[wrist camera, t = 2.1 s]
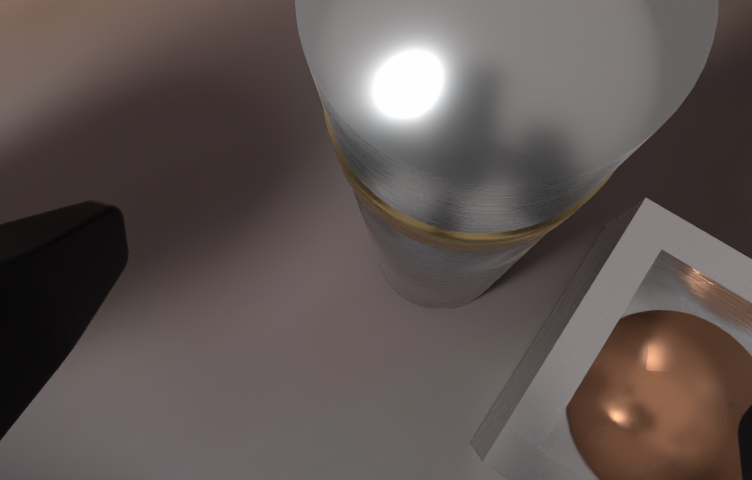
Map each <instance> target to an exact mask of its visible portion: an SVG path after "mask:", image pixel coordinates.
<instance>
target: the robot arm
mask: <svg viewBox="0 0 752 480" xmlns="http://www.w3.org/2000/svg"><path fill="white" fill-rule="evenodd" d="M127 260H128V245H127V238H126V231H125V224H124V218H123V213H122V212H121V210H120V209H119V208H118V207H116V206H114V205H110V204H106V203H102V202H98V201H85V202H82V203H78V204H74V205H70V206H67V207H63V208H59V209H55V210H52V211H48V212H44V213H40V214H37V215H33V216H29V217H25V218H22V219H18V220H14V221H10V222H7V223H3V224H0V440H1V439H2V438H3V437H4V435H5V434H6V433H7V432H8V430H9V429H10V428H11V427H12V425H13V424H14V423H15V422H16V420H17V419H18V418H19V417H20V415H21V414H22V413H23V412H24V410H25V409H26V408H27V407H28V405H29V404H30V403H31V402H32V400H33V399H34V398H35V397H36V395H37V394H38V393H39V392H40V390H41V389H42V388H43V387H44V385H45V384H46V383H47V382H48V380H49V379H50V378H51V377H52V375H53V374H54V373H55V372H56V370H57V369H58V368H59V367H60V365H61V364H62V363H63V361H64V360H65V359H66V357H67V356H68V355H69V353H70V352H71V351H72V349H73V348H74V346H75V345H76V343H77V342H78V341H79V339H80V338H81V336H82V334H83V333H84V331H85V330H86V328H87V327H88V325H89V324H90V322H91V320H92V319H93V317H94V316H95V314H96V313H97V311H98V309H99V308H100V306H101V305H102V303H103V302H104V300H105V298H106V297H107V295H108V294H109V292H110V291H111V289H112V288H113V286H114V284H115V283H116V281H117V280H118V278H119V277H120V275H121V273H122V272H123V270H124V268H125V266H126V264H127ZM737 434H738V446H739V455H740V465H741V474H742V480H752V404H751V405H750V407H749V408H748V409H747V410H746V412H745V413H744V414H743V416H742V417H741V419H740V422H739V425H738V432H737Z"/></svg>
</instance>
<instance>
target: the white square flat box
mask: <svg viewBox="0 0 752 480" xmlns="http://www.w3.org/2000/svg"><path fill="white" fill-rule="evenodd" d="M751 404H752V259H750V258H749V257H747V256H745V255H743V254H742V253H740V252H738V251H737V250H735V249H733V248H731V247H730V246H728V245H726V244H725V243H723V242H721V241H719V240H718V239H716V238H714V237H713V236H711V235H709V234H707V233H706V232H704V231H702V230H701V229H699V228H697V227H695V226H694V225H692V224H690V223H689V222H687V221H685V220H683V219H682V218H680V217H678V216H677V215H675V214H673V213H671V212H670V211H668V210H666V209H665V208H663V207H661V206H660V205H658V204H656V203H654V202H653V201H651V200H649V199H648V198H644V199H643V200H641V201H640V202H639V203H637V204H636V205H634V206H633V207H631V208H630V209H628V210H627V211H626V212H624V213H623V214H621V215H620V216H618V217H617V218H615V219H614V220H613V221H611V222H610V223H608V224H607V225H606V226H605V228H604V229H603V231H602V233H601V234H600V236H599V237H598V239H597V241H596V242H595V244H594V245H593V247H592V249H591V250H590V252H589V253H588V255H587V257H586V258H585V260H584V261H583V263H582V265H581V266H580V268H579V269H578V271H577V273H576V274H575V276H574V277H573V279H572V281H571V282H570V284H569V285H568V287H567V289H566V290H565V292H564V293H563V295H562V297H561V298H560V300H559V301H558V303H557V305H556V306H555V308H554V309H553V311H552V313H551V314H550V316H549V317H548V319H547V321H546V322H545V324H544V325H543V327H542V329H541V330H540V332H539V334H538V335H537V337H536V338H535V340H534V342H533V343H532V345H531V346H530V348H529V350H528V351H527V353H526V354H525V356H524V358H523V359H522V361H521V362H520V364H519V366H518V367H517V369H516V370H515V372H514V374H513V375H512V377H511V378H510V380H509V382H508V383H507V385H506V386H505V388H504V390H503V391H502V393H501V394H500V396H499V398H498V399H497V401H496V402H495V404H494V406H493V407H492V409H491V410H490V412H489V414H488V415H487V417H486V418H485V420H484V422H483V423H482V425H481V426H480V428H479V430H478V431H477V433H476V434H475V436H474V438H473V439H472V441H471V442H470V444H471V445H472V447H473V448H474V450H475V451H476V453H477V454H478V456H479V457H480V459H481V460H482V462H484V463H485V464H487V465H488V466H489V467H491V468H492V469H494V470H495V471H496V472H498V473H499V474H501V475H502V476H503V477H505V478H506V479H508V480H742V474H741V465H740V455H739V446H738V434H737V432H738V425H739V422H740V419H741V417H742V416H743V414H744V413H745V412H746V410H747V409H748V408H749V407H750V405H751Z"/></svg>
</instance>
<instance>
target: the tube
mask: <svg viewBox="0 0 752 480" xmlns="http://www.w3.org/2000/svg"><path fill="white" fill-rule="evenodd" d="M718 4H719V0H295V9H296V19H297V28H298V32H299V36H300V40H301V44H302V48H303V51H304V54H305V57H306V60H307V63H308V65H309V68H310V71H311V74H312V77H313V79H314V82H315V85H316V88H317V91H318V93H319V96H320V99H321V102H322V105H323V110H324V117H325V121H326V125H327V129H328V133H329V136H330V138H331V141H332V144H333V146H334V149H335V152H336V154H337V157H338V160H339V162H340V165H341V167H342V169H343V172H344V174H345V177H346V178H347V180H348V182H349V183H350V185H351V187H352V189H353V192H354V194H355V197H356V200H357V203H358V206H359V208H360V211H361V214H362V217H363V220H364V222H365V225H366V228H367V231H368V234H369V237H370V239H371V242H372V245H373V248H374V251H375V253H376V256H377V259H378V262H379V265H380V267H381V270H382V272H383V274H384V276H385V278H386V280H387V281H388V283H389V284H390V285H391V287H392V288H393V289H394V290H395V291H396V292H397V293H398V294H400V295H401V296H402V297H403V298H405V299H406V300H408V301H410V302H412V303H414V304H416V305H419V306H422V307H426V308H431V309H450V308H455V307H459V306H462V305H465V304H467V303H469V302H471V301H473V300H474V299H476V298H477V297H479V296H480V295H481V294H482V293H484V292H485V291H486V290H487V289H488V288H489V287H490V286H491V285H492V284H493V283H494V282H495V281H496V280H497V279H499V278H500V277H501V276H502V275H503V274H504V273H505V272H506V271H507V270H508V269H509V268H510V267H511V266H512V265H514V264H515V263H516V262H517V261H518V260H519V259H520V258H521V257H522V256H523V255H524V254H525V253H526V252H527V251H529V250H530V249H531V248H532V247H533V246H534V245H535V244H536V243H537V242H538V241H539V240H540V239H541V238H542V237H544V236H545V235H546V234H547V233H548V232H549V231H551V230H553V229H555V228H556V227H557V226H559V225H560V224H561V223H563V222H564V221H565V220H566V219H568V218H569V217H570V216H571V215H572V214H574V213H575V212H576V211H577V210H578V209H579V208H580V207H581V206H582V205H584V204H585V203H586V202H587V201H588V200H589V199H590V198H591V197H592V196H593V195H594V194H595V193H596V192H597V191H598V190H599V189H600V188H601V187H602V186H603V185H604V184H605V183H606V182H607V181H608V179H609V178H610V177H611V175H612V174H613V173H614V171H615V170H616V169H617V167H619V166H620V165H621V164H622V163H623V162H624V161H625V160H626V159H627V158H628V157H629V156H630V155H631V154H632V153H634V152H635V151H636V150H637V149H638V148H639V147H640V146H641V145H642V144H643V143H644V142H645V141H646V140H647V139H649V138H650V137H651V136H652V135H653V134H654V133H655V132H656V131H657V130H658V129H659V128H660V127H661V126H662V125H663V124H664V123H665V122H666V121H667V120H668V119H669V118H670V117H671V116H672V115H673V114H674V113H675V112H676V111H677V110H678V108H679V107H680V105H681V104H682V103H683V101H684V100H685V99H686V97H687V96H688V95H689V93H690V92H691V90H692V89H693V87H694V85H695V84H696V82H697V80H698V78H699V76H700V74H701V72H702V70H703V68H704V66H705V64H706V61H707V58H708V56H709V53H710V50H711V47H712V44H713V41H714V36H715V30H716V25H717V19H718Z"/></svg>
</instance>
